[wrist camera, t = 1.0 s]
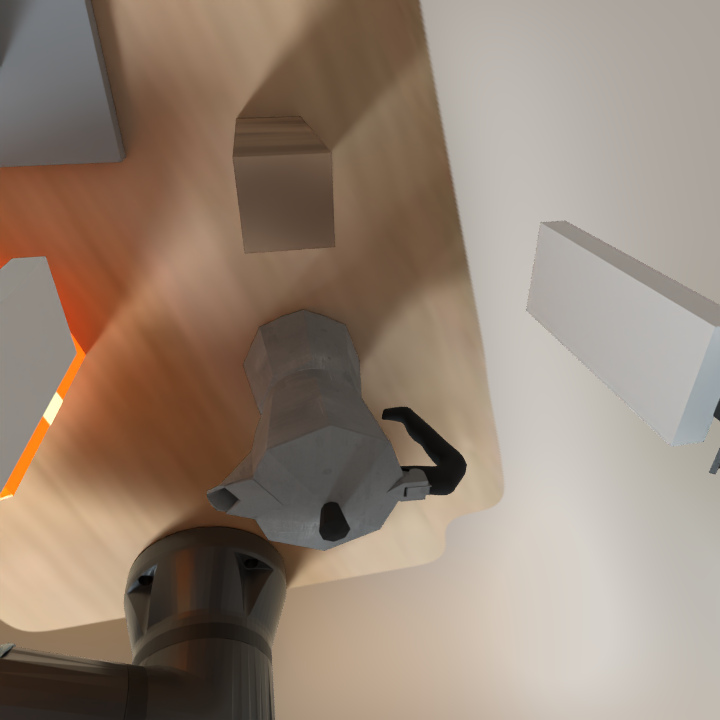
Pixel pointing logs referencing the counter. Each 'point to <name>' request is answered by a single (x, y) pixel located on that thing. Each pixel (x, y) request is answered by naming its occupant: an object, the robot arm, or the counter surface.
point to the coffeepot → (323, 442)
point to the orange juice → (42, 426)
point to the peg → (283, 185)
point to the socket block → (54, 86)
